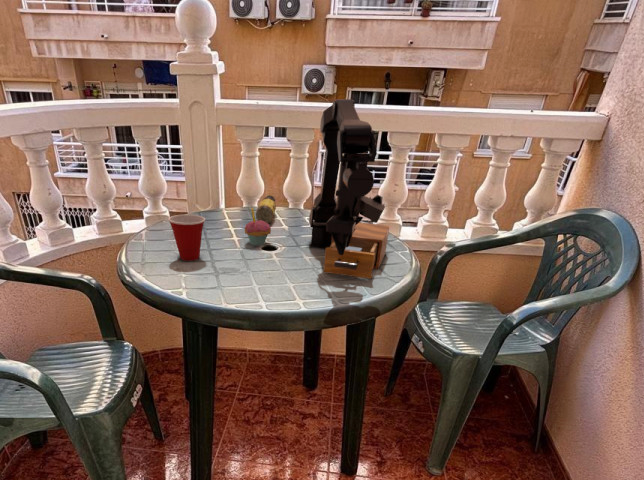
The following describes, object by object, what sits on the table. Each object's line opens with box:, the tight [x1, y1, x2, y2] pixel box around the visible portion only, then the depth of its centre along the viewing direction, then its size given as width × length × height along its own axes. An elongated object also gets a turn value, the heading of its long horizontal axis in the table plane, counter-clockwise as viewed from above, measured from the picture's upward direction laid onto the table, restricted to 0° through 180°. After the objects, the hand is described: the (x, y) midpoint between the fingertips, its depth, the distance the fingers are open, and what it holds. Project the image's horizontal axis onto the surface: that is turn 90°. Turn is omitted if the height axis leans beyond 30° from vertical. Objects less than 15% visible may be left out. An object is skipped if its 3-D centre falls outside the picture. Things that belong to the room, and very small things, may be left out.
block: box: [345, 246, 362, 252], centre depth 138 cm, size 4×4×4 cm
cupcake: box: [244, 205, 272, 246], centre depth 156 cm, size 9×8×12 cm
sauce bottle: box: [255, 195, 277, 224], centre depth 180 cm, size 6×6×20 cm
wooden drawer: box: [323, 239, 379, 279], centre depth 137 cm, size 17×13×7 cm
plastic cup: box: [167, 214, 206, 262], centre depth 145 cm, size 11×11×12 cm
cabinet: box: [331, 221, 391, 270], centre depth 147 cm, size 14×15×9 cm
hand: (343, 250), depth 123 cm, fingers open, 6 cm apart
